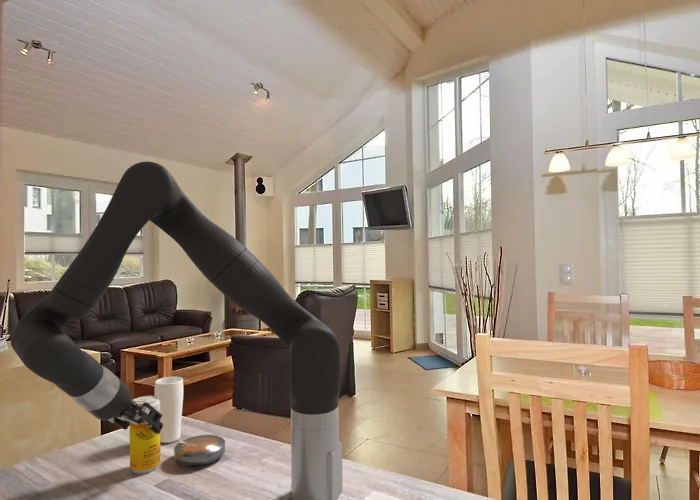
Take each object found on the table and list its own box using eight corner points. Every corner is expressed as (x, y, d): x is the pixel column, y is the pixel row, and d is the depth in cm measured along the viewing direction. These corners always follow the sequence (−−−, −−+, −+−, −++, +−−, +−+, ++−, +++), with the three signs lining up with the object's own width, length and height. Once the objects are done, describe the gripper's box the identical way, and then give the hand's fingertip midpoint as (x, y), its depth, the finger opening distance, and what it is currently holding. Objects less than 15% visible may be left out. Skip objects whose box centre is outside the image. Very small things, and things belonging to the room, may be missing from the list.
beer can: (148, 476, 91) (148, 405, 91) (123, 473, 93) (123, 403, 93) (166, 462, 97) (165, 395, 97) (142, 460, 98) (142, 394, 99)
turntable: (234, 446, 103) (234, 437, 103) (206, 468, 92) (206, 458, 92) (194, 440, 106) (194, 432, 106) (163, 461, 96) (163, 452, 96)
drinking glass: (189, 437, 110) (189, 378, 110) (165, 447, 105) (165, 385, 105) (172, 431, 114) (172, 374, 114) (149, 441, 108) (148, 381, 108)
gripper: (140, 376, 84) (179, 414, 95) (82, 371, 88) (126, 407, 99) (118, 413, 79) (162, 448, 90) (58, 406, 83) (107, 440, 94)
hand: (143, 427), depth 95 cm, fingers open, 8 cm apart
